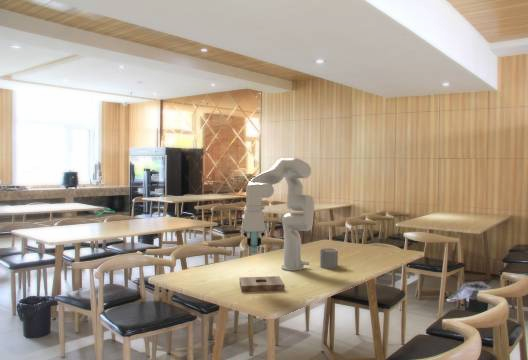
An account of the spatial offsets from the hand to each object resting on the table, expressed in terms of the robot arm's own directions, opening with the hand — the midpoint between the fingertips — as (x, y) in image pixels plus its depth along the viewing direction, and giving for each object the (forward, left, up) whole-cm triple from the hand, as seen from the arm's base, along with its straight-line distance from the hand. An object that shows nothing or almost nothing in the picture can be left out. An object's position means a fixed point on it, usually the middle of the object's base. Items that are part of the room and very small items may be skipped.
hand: (254, 245), depth 219 cm
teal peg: (0, 0, -3) cm, 3 cm away
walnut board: (-3, +4, -19) cm, 20 cm away
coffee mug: (-48, -35, -20) cm, 62 cm away
